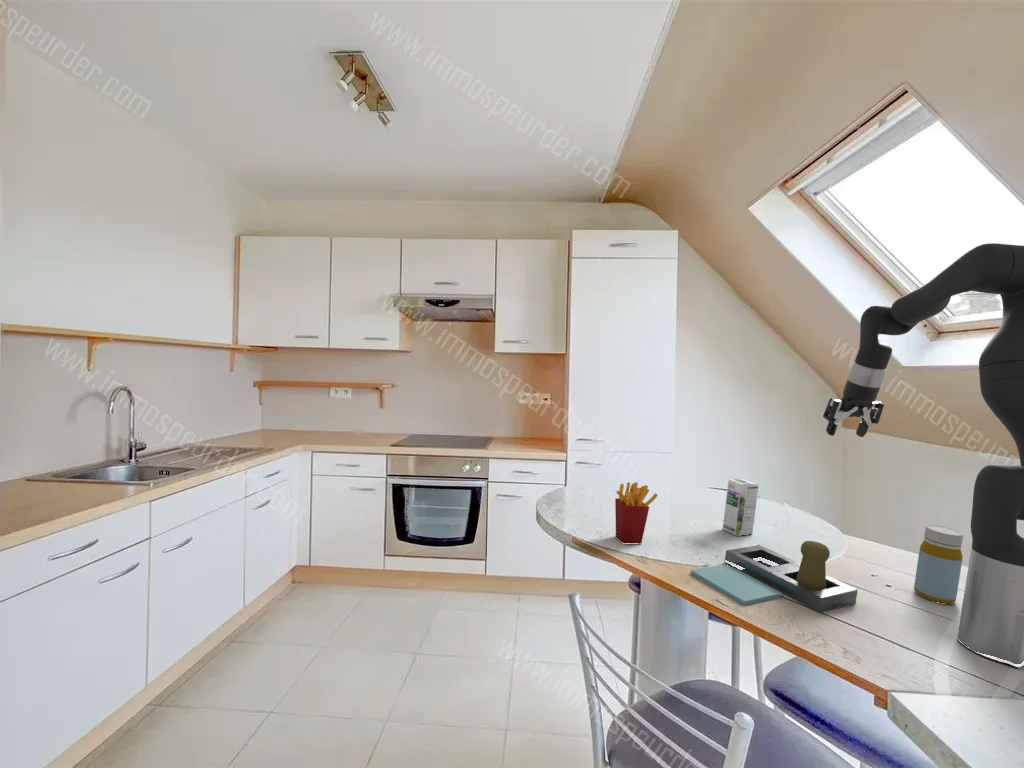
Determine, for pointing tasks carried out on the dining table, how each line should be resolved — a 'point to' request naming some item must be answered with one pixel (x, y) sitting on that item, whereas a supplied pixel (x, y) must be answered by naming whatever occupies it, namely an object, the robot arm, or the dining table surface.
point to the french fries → (631, 513)
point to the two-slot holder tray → (791, 579)
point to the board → (736, 584)
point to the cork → (813, 565)
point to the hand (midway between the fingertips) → (844, 435)
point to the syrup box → (740, 507)
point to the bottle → (939, 564)
